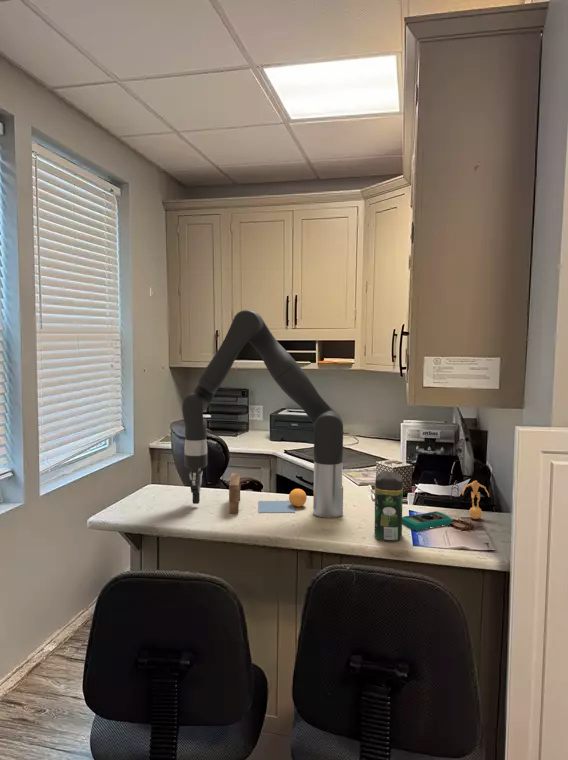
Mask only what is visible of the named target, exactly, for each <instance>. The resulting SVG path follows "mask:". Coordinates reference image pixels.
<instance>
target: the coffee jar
mask: <svg viewBox="0 0 568 760" xmlns="http://www.w3.org/2000/svg"><path fill="white" fill-rule="evenodd" d="M374 484H375V485H374V536H375V539H377V540H380V541H383V542H389V543H392V542H398V541H400V540H401V539H402V537H403V524H402V517H403V504H404V503H403V499H404V498H403V494H404V493H403V492H404V490H403V489H404V479H403V477H402V476H401V475H400V474H399V473H398V472H397V471H386V470H385V471H382V472H380V473H378V474H377V475H376V477H375V482H374Z"/></svg>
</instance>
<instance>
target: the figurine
mask: <svg viewBox="0 0 568 760" xmlns="http://www.w3.org/2000/svg"><path fill="white" fill-rule="evenodd" d="M469 487H471V489H472V491H471V492H470V494H471V495H470V496H471V505H472V507H470V509H469V510H468V514H469V516H470V518H472V519H474V520H479V519H481V518H482V516H483V511H482V508H480V506H479V502H480V500H481V496H480V495H481V492H480V491H479V488H480V487H481V488H483V489H484V491H485V492H486V494H487V496H488V498H490V494H489V492H488V490H487V487H486V486H484V485H482V484H480V483H479V482H478V480H473V481H472V482H470V483H469V484H465V486H464V487H463V490H462V493H461V496H464V494H465V490H466V489H467V488H469ZM475 497H476V498H477V500H476V505H475V503H474V502H475Z"/></svg>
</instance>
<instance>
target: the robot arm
mask: <svg viewBox="0 0 568 760" xmlns="http://www.w3.org/2000/svg"><path fill="white" fill-rule="evenodd" d="M248 343H249V344H250V346H252V347H253V348H254V349H255V350H256V351H257V353H258V354H259V355H260V357H261V359H262V361H263V364H264V365H265V367H266V369H267V371H268V373H269V374H270V376H271V377H272V378H273V380H274V381H275V383H276V384H277V385H278V386H279V387H280V389H281V390H282V392H284V393H285V394H286V395H287V397H289V399H290V400H292V402H294V403H295V404H297V405H298V406H299V407H300V408H301V409H302V411H304V413H305V414H306V416H307V417H308V418H309V420H310V421H311V423H312V425H313V504H312V505H313V507H312V508H313V515H315V516H316V517H320V518H329V519H333V518H338V517H343V516H344V486H343V456H344V454H343V453H344V423H343V422H344V421H343V419H342V417H341V416H340V415H339V414H338V413H337V412H336V411H335V410H334V409H333V408H332V406H330V405H329V404H328V403H327V402H326V401H325V400H324V398H323V397H322V396H321V394H319V392H318V391H317V389H316V387H315V385H314V384H313V382H312V381H311V380H310V378H309V377H308V375H307V374H306V373H305V371H304V370H303V368H302V367H301V366H300V365H299V364H298V363H297V361H296V360H295V359H294V358H293V357H292V355H291V354H290V353H289V352H288V351H287V350H286V348H284V347H283V345H281V344H280V342H278V341H277V339H276V338H275V336H274V335H273V333H272V332H271V330H270V329H269V327H268V325H267V324H266V322H265V320H264V319H263V317H262V316H261V315H260V314H259V313H258V312H257V311H254V310H250V309H243V310H240V311H238V312H237V313H236V314H235V315H234V317H233V320H232V322H231V324H230V326H229V329H228V331H227V333H226V335H225V336H224V339H223V341H222V343H221V345H220V346H219V348H218V350H217V351H216V353H215V354H214V355H213V357H212V359H211V360H210V362H209V363H208V364H207V365H206V368H205V369H204V371H203V373H202V374H201V375H200V377H199V379H198V384H197V386H196V387H195V389H194V390H193V392H192V393H190V394H187V395H186V396H185V397H184V398H183V401H182V404H181V407H182V417H183V418H182V419H183V422H184V426H185V427H184V428H185V429H184V435H185V437H184V439H185V440H184V467H185V468H188V469H191V470H190V471H189V474H188V475H189V485H190V486H189V487H190V492H191V494H192V504H195V505H196V504H197V505H198V504H200V501H201V499H200V498H201V497H200V496H201V488H202V483H203V479H202V476H203V470H201V469H203V468H206V467H207V466H208V442H207V441H208V440H207V425H206V422H205V421H204V412H205V411H206V410H207V408H208V407H209V406H210V404H211V403H212V401H213V398H214V396H215V395H216V392H217V391H218V389H219V388H220V386H221V385H223V382H224V381H225V379H226V378H227V376H228V374H229V372H230V370H231V368H232V367H233V365H234V362H235V360H236V358H237V357H238V355H239V354H240V352H241V351H242V349H243V348H244V347H245V346H246V344H248Z"/></svg>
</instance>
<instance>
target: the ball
mask: <svg viewBox="0 0 568 760" xmlns="http://www.w3.org/2000/svg"><path fill="white" fill-rule="evenodd" d="M288 501H290V503H291V504H292V505H293V506H294V507H296V508H299V507H303V506H304V505H305V503H307V494H306V492H305V491H304V490H303V489H301V488H294V489H292V490H291V491H290V493H289V494H288Z"/></svg>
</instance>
